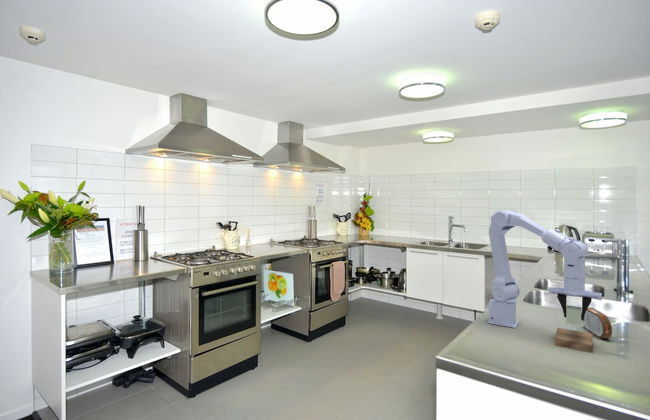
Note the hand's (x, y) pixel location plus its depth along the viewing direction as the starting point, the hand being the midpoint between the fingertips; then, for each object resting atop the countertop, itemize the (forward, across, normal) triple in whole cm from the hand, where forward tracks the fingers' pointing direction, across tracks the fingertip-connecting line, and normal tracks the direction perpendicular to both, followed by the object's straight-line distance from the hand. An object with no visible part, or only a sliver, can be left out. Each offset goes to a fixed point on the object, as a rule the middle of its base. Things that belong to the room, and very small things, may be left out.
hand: (573, 318), depth 118 cm
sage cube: (+1, 0, 0) cm, 1 cm away
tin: (+9, +6, +15) cm, 18 cm away
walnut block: (+9, 0, 0) cm, 9 cm away
